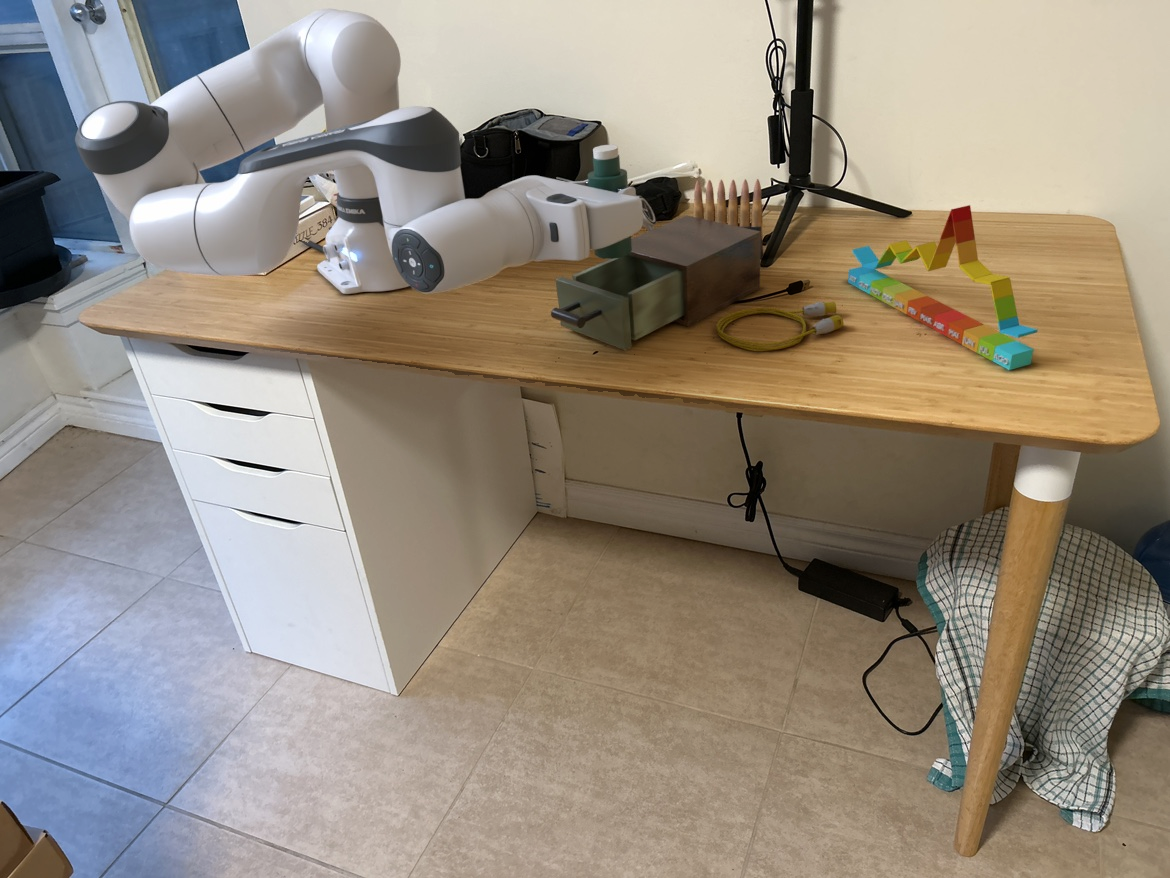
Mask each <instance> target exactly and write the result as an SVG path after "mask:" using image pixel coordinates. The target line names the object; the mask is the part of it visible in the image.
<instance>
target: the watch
mask: <svg viewBox="0 0 1170 878" xmlns="http://www.w3.org/2000/svg"><path fill="white" fill-rule="evenodd" d="M636 197H639V198H640V199H641V201H642V210H643V225H642V227H643V228H645V229H646V232H648V231H651V230H653V229H655V226H656V224H657V218H656V215H655V213H654V210H653V209H652V207H651V205H650V203H649V202H648V201H647V199H646V198H644V197H643V196H642V195H636Z"/></svg>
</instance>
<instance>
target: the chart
mask: <svg viewBox="0 0 1170 878" xmlns="http://www.w3.org/2000/svg"><path fill="white" fill-rule="evenodd" d="M971 208H972V207H971V204H969V205H964V206H960V207H955V208H951V209H950V212H949V215H948V217H947V220H946V222H945V224H944V227H943V230H942V231H941V234H940V238H939V240H938V243H936V241H930V242H926V243H922V244H918V245H915V247H914V248H913V247H912V246H911V244H910V243H909V241H908V240H906V239H905V240H902V241H898V242H892V243H890V244H888V245H887V247H886V249H885V250H884V252H883V253H882V255H881V256H880V258H878V257H877V255H876V254H875V252H874V251H873V249H872V247H870V245H866V246H861V247H857V248H854V249H852V254H853V255H854V257H855V258H856V260H857V261H858V262H859V264H860V265H861V266H859V267H854V268H850V269H848V275H847V276H848V277H847V283H848V284H850V285H852V286H853V287H855V288H857V289H859V290H861V291H862V292H864V293H866V294H868V295H869V296H872V297H874V298H875V299H877V300H879V301H881V302H882V303H885V304H887V305H888V306H890V307H892V308H894V309H896V310H898V311H899V312H901V313H902V314H904V315H907V316H908V317H910V318H912V319H913V320H916V321H917V322H919V323H920V324H923V325H925V326H926V327H929V328H930V329H932V330H934V331H936V332H938V333H939V334H941V335H943V336H945V337H947V338H948V339H950V340H952V341H954V342H956V343H958V344H960V345H961V346H962V347H965V348H967V349H968V350H970V351H972V352H974V353H976V354H978V355H980V356H982V357H984V358H986V359H987V360H989V361H991V362H993V363H995V364H997V365H999V366H1001V367H1002V368H1004V369H1005V370H1008V371H1013V370H1015V369H1018V368H1022V367H1025V366H1029V365H1031V363H1032V359H1033V354H1034V348H1033V347H1031V346H1029V345H1027V344H1025V343H1023V342H1021V341H1019V340H1017V339H1019V338H1022V337H1026V336H1030V335H1034V334H1037V333H1038V330H1039V329H1038V328H1034V327H1030V326H1026V325H1023V324H1020V321H1019V316H1018V311H1017V307H1016V306H1017V305H1016V302H1015V296H1014V291H1013V286H1012V281H1011V277H1010V276H1005V275H1001V274H996V273H993V272H991V270H990V269H989V268H988V267H986V266H985V265H984V264H983V263H982V262H981V261H980V260H979V257H978V256H979V255H978V249H977V243H976V242H977V241H976V237H975V229H974V223H973V215H972V209H971ZM955 247H956V253H957V260H958V267H959V269H960V270H961V271H962V272H963V273H964V274H965V275H966V276H967V277H968V278H969V279H970V280H972V282H974V283H978V284H984V285H987V286H990V291H991V295H992V300H993V307H994V310H995V317H996V320H997V321H996V322H997V326H998V330H999V331H998V330H996V329H994V328H992V327H990V326H988V325H986V324H984V323H982V322H980V321H978V320H976V319H975V318H972V317H970V316H969V315H966V314H965V313H962V312H960V311H958V310H957V309H955V308H952V307H950V306H949V305H946V304H944V303H943V302H940V301H938V300H936V299H935V298H933V297H931V296H929V295H926V294H925V293H924V292H921V291H919V290H917V289H915V288H913V287H911V286H909V285H907V284H905V283H903V282H900V281H899V280H897V279H895V278H893V277H891V276H889V275H887V274H885V273H883V272H881V271H880V270H878V269H882V268H885V267H889V266H892V265H893V264H894V261H895V260H896V259H897V261H898V262H899V264H902V265H903V264H905V263H911V262H914V261H918V260H919V259H921V261H922V263H923V264H924V267H925V269H926V270H927V272H931V271H935V270H939V269H943V268H944V269H945V268H947V266H948V263H949V261H950V258H951V255H952V253H953V250H954V248H955ZM1012 337H1013V338H1012ZM1014 338H1017V339H1014Z"/></svg>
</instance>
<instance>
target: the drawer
mask: <svg viewBox="0 0 1170 878" xmlns="http://www.w3.org/2000/svg"><path fill="white" fill-rule="evenodd" d="M571 277H572V279H571V278H569V277H565V276H560V277H557V278H556V279H555V287H556V295H557V304H558V307H554V308H552V310H550V311H551V312H550V317H551V318H552V319H554V320H557V321H559V322H560V326H561V327H563V328H565V329H568V330H570V331H573V332H576V333H578V334H581V335H584V336H586V337H589V338H592V339H594V340H597V341H600V342H602V343H605V344H608V345H610V346H613V347H616V348H618V349H621V350H623V351H627V350H629V349H631V348H632V347H633V346H632V341H638V340H639V339H641V338H643V337H644V336H647V335H648V334H650V333H652V332H654V331H656V330H658V329H660V328H662V327H665V326H666V325H668V324H670V323H672V322H673V321H674V320H676V319H678V318H680V317H682V316H683V315H684V293H683V270H680V269H676V268H672V267H669V266H665V265H662V264H658V263H654V262H651V261H647V260H643V259H640V258H636V257H633V256H629V255H627V256H625V257H621V258H616V259H606V260H605V261H602V262H601V263H598V264H595V265H593V266H591V267H589V268H586V269H584V270H582V271H580V272H578V273H575V274H572V276H571Z"/></svg>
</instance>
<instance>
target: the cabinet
mask: <svg viewBox="0 0 1170 878" xmlns="http://www.w3.org/2000/svg"><path fill="white" fill-rule="evenodd" d="M760 236H761V231H756V230H751V229H747V228H742V227H738V226H733V225H729V224H724V223H719V222H716V220H715V221H710V220H706V219H705V218H704V219H701V218H697V217H693V215H685V216H681V217H679V218H677V219H675V220H672V221H670V222H668V223H665V224H663V225H660V226H658V227H656V228H654V229H653V230H651V231H646V232H644V233H642V234H639V235H637V236H634V237H631V243H632V252H631V253H630V254H629V256H633V257H636V258H640V259H643V260H647V261H651V262H654V263H658V264H662V265H665V266H669V267H672V268H676V269H680V270H683V293H684V315H683V316H682V317H680V318H678V319H676V320H674V321H672V322H673V323H677V324H680V325H683V326H686V327H690V326H692V325H694V324H696V323H698V322H700V321H701V320H704V319H705V318H707V317H709V316H711V315H713V314H715V313H716V312H718V311H721V310H723V309H725V308H726V307H728V306H730V305H732V304H734V303H736V302H737V301H739V300H741V299H743V298H745V297H746V296H749V295H751V294H753V293H754V292H757V291H759V290H760V289H761V259H760V250H761V237H760Z"/></svg>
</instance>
